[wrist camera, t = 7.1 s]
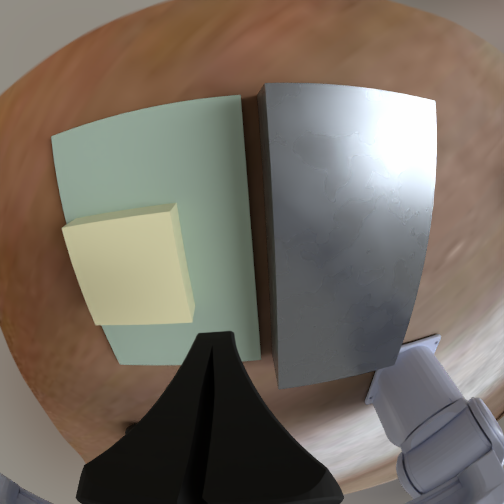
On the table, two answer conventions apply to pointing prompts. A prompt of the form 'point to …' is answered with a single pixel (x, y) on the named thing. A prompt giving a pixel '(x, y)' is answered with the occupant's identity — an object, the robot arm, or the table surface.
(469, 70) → the table surface
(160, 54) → the table surface
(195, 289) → the rubber mat
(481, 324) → the table surface
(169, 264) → the sticky-note pad
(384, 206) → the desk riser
